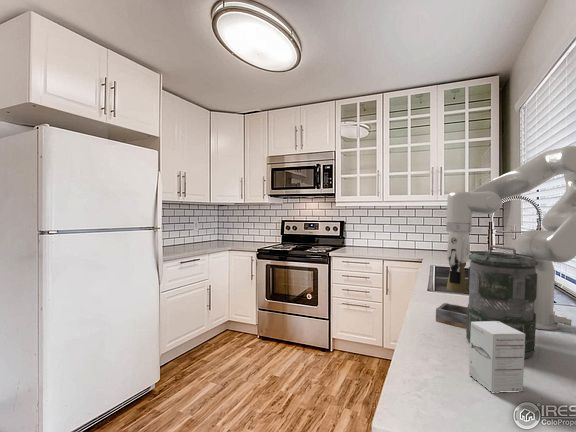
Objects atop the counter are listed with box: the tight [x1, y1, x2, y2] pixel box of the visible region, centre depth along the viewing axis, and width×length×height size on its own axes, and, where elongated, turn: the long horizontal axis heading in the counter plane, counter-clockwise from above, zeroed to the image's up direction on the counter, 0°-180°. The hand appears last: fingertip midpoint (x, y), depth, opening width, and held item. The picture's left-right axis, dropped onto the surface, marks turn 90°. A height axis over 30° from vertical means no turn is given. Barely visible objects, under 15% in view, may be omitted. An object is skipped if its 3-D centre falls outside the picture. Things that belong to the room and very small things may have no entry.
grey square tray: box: [435, 302, 468, 329], centre depth 108 cm, size 10×10×4 cm
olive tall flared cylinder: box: [446, 258, 468, 293], centre depth 108 cm, size 6×6×11 cm
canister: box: [465, 244, 538, 359], centre depth 88 cm, size 16×16×28 cm
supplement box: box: [468, 321, 525, 393], centre depth 69 cm, size 7×7×13 cm
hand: (456, 281), depth 108 cm, fingers closed on olive tall flared cylinder, 3 cm apart
